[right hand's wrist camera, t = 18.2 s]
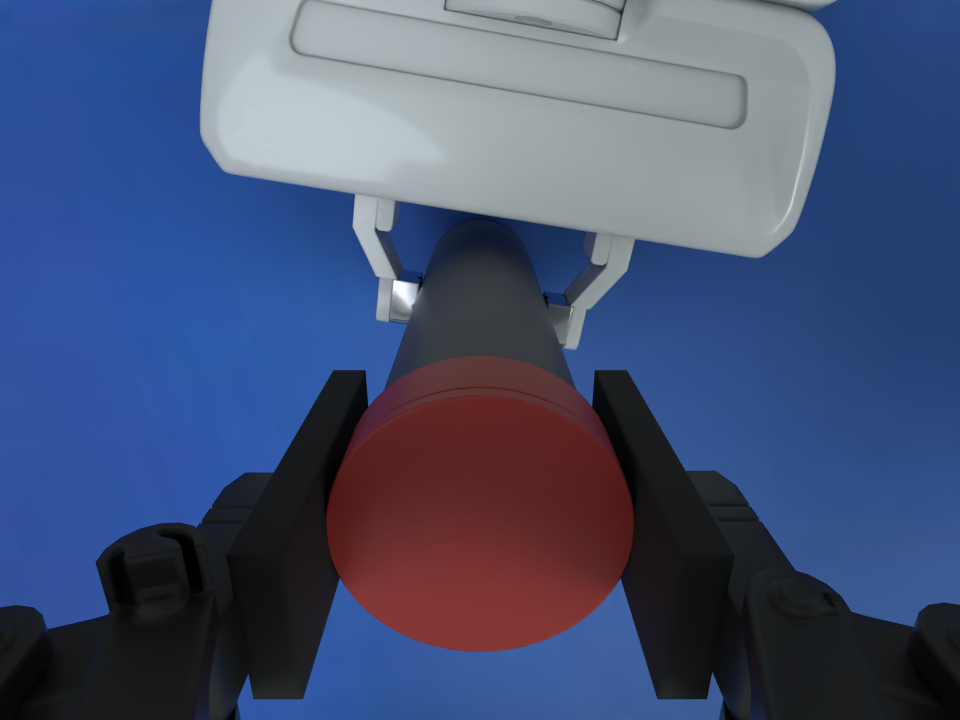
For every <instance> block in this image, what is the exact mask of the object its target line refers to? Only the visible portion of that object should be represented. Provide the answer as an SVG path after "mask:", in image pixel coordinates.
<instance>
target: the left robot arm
mask: <svg viewBox="0 0 960 720" xmlns="http://www.w3.org/2000/svg"><path fill="white" fill-rule="evenodd" d="M835 1H837V0H212V4H211V10H210V16H209V23H208V30H207V37H206V45H205V53H204V62H203V73H202V87H201V104H200V134H201V138H202V141H203V143H204V144H205V146H206V147H207V149H208V150H209V152H210V153H211V155H212V156H213V158H214V159H215V161H216V162H217V164H218V165H219V166H220V167H221V169H222V170H223V171H225V172H226V173H229V174H233V175H239V176H245V177H251V178H258V179H264V180H270V181H276V182H283V183H289V184H295V185H301V186H308V187H314V188H320V189H326V190H332V191H339V192H345V193H351V194H355V203H354V216H353V229H354V231H355V233H356V235H357V237H358V239H359V241H360V243H361V245H362V248H363V250H364V252H365V254H366V256H367V258H368V260H369V262H370V264H371V267H372V269H373V271H374V273H375V275H376V277H380V279H379V289H378V300H377V310H376V320H378V321H383V322H388V323H389V322H392V323H399V324H406V325H407V324H408V321H409V319H410V316H411V313H412V310H413V307H414V304H415V302H416V299H417V296H418V293H419V290H420V288H421V285H422V278H423V273H422V272H416V271H411V270H405V269H403V267H402V264H401V262H400V260H399V257H398V255H397V252H396V250H395V248H394V245H393V243H392V240H391V238H390V236H389V233H388V232H389V231H390V230H391V229H392V228H393V227H394V226H395V225H396V224H397V222H398V221H399V219H400V210H401V202H407V203H413V204H420V205H426V206H432V207H438V208H444V209H451V210H457V211H463V212H469V213H476V214H482V215H488V216H494V217H501V218H507V219H513V220H519V221H525V222H532V223H538V224H544V225H550V226H557V227H563V228H569V229H575V230H581V231H586V232H585V236H584V241H583V246H582V250H583V251H584V253H585V254H586V255H587V257H588V258H589V259H590V260H591V261H590V262H589V264H588V265H587V266H586V267H585V268H584V270H583V271H582V272H581V273H580V274H579V275H578V277H577V278H576V279H575V280H574V281H573V282H572V284H571V285H570V286H569V287H568V288H567V290H566V291H565V292H564V294H560V293H553V292H545V291H544V293H543V298H544V300H545V303H546V306H547V309H548V312H549V315H550V317H551V320H552V323H553V326H554V329H555V332H556V334H557V337H558V340H559V343H560V346H561V348H564V349H571V350H576V349H577V346H578V344H579V340H580V335H581V331H582V327H583V323H584V318H585V314H586V310H587V309H591V308H592V307H593V306H594V305H595V304H596V303H597V302H598V300H599V299H600V298H601V297H602V296H603V295H604V294H605V293H606V292H607V291H608V290H609V289H610V288H611V287H612V286H613V285H614V284H615V283H616V282H617V281H618V280H619V278H620V277H621V276H622V275H623V274H624V273H625V272H626V271H627V269H628V265H629V261H630V258H631V254H632V250H633V246H634V242H635V239H638V240H644V241H650V242H656V243H662V244H669V245H675V246H681V247H687V248H694V249H700V250H706V251H712V252H718V253H725V254H731V255H737V256H744V257H750V258H761V257H763V256H765V255H766V254H767V253H769V252H770V251H772V250H773V249H774V248H775V247H776V246H778V245H779V244H780V243H781V242H782V241H784V240H785V239H786V238H787V237H788V236H789V235H790V234H791V233H792V232H793V230H794V228H795V226H796V224H797V222H798V220H799V217H800V215H801V212H802V209H803V206H804V204H805V201H806V198H807V195H808V191H809V188H810V185H811V182H812V179H813V176H814V172H815V169H816V165H817V162H818V158H819V154H820V150H821V146H822V143H823V139H824V135H825V131H826V126H827V122H828V118H829V113H830V109H831V104H832V99H833V94H834V87H835V77H836V61H835V53H834V48H833V44H832V42H831V39H830V37H829V34H828V33H827V31H826V30H825V28H824V27H823V26H822V25H821V23H820V22H818V21H817V20H816V19H815V18H814V17H812V16H811V15H809V14H810V13H812V12H815V11H817V10H819V9H821V8H823V7H825V6H827V5H829V4H831V3H833V2H835Z"/></svg>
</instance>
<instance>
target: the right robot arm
mask: <svg viewBox="0 0 960 720" xmlns="http://www.w3.org/2000/svg"><path fill="white" fill-rule="evenodd" d="M367 408H368V398H367V385H366V371H365V370H333V372H332V374H331V376H330V377H329V379H328V381H327V382H326V384H325V386H324V388H323V389H322V391H321V393H320V394H319V396H318V398H317V400H316V401H315V403H314V405H313V406H312V408H311V410H310V412H309V413H308V415H307V417H306V419H305V420H304V422H303V424H302V425H301V427H300V429H299V431H298V432H297V434H296V436H295V437H294V439H293V441H292V443H291V444H290V446H289V448H288V449H287V451H286V453H285V455H284V456H283V458H282V460H281V462H280V463H279V465H278V467H277V468H276V470H275V472H274V473H244V474H243V475H241V476H240V477H239V478H237V479H236V480H234V481H233V482H232V483H230V484H229V485H227V486H226V487H225V488H224V489H223V490H222V492H221V493H220V495H219V496H218V498H217V499H216V500H215V502H214V503H213V505H212V509H209V511H208V512H207V513H206V515H205V516H204V518H203V519H202V524H199V525H198V526H197V528H196V527H194V526H192V525H187V524H183V523H161V524H157V525H153V526H149V527H145V528H141V529H139V530H136V531H134V532H132V533H130V534H128V535H125V536H123V537H121V538H120V539H118V540H117V541H116V542H114V543H113V544H112V545H110V546H109V547H107V548H106V549H105V550H104V551H103V553H102V554H101V555H100V557H99V558H98V559H97V561H96V566H97V569H98V572H99V576H100V579H101V583H102V586H103V590H104V593H105V596H106V600H107V603H108V607H109V610H110V612H109V614H108V615H105V616H101V617H98V618H95V619H91V620H86V621H82V622H77V623H73V624H69V625H64V626H60V627H56V628H51V629H47V627H46V624H45V621H44V618H43V615H42V614H41V613H39V612H38V611H37V610H36V609H34V608H33V607H27V606H19V605H14V606H8V607H1V608H0V720H241V719H240V713H239V708H238V703H237V700H238V697H239V695H240V692H241V690H242V688H243V685H244V683H245V680H246V678H247V676H248V673H249V678H250V684H251V689H252V694H253V699H303V697H304V694H305V690H306V687H307V684H308V680H309V677H310V674H311V671H312V667H313V664H314V661H315V658H316V654H317V651H318V648H319V644H320V641H321V638H322V635H323V631H324V628H325V625H326V621H327V618H328V615H329V612H330V608H331V605H332V602H333V599H334V595H335V592H336V589H337V585H338V582H339V579H340V577H339V575H338V573H337V571H336V569H335V566H334V564H333V562H332V559H331V556H330V552H329V546H328V538H327V529H326V507H327V502H328V498H329V493H330V490H331V487H332V485H333V482H334V480H335V477H336V475H337V472H338V470H339V467H340V465H341V463H342V460H343V458H344V455H345V453H346V450H347V448H348V445H349V443H350V440H351V438H352V435H353V433H354V430H355V428H356V426H357V424H358V422H359V421H360V419H361V417H362V415H363V414H364V412H365V411H366V410H367ZM592 408H593V409H594V411H595V412H596V413H597V415H598V416H599V418H600V420H601V422H602V424H603V425H604V427H605V429H606V431H607V434H608V436H609V439H610V441H611V444H612V446H613V449H614V451H615V454H616V456H617V459H618V461H619V464H620V466H621V469H622V471H623V474H624V476H625V479H626V481H627V484H628V487H629V490H630V492H631V496H632V501H633V506H634V511H635V523H634V533H633V542H632V550H631V553H630V557H629V560H628V563H627V565H626V567H625V569H624V572H623V574H622V576H621V581H622V584H623V587H624V591H625V594H626V597H627V601H628V604H629V607H630V610H631V614H632V617H633V620H634V624H635V627H636V630H637V633H638V637H639V640H640V643H641V646H642V650H643V653H644V656H645V660H646V663H647V666H648V669H649V673H650V676H651V679H652V683H653V686H654V689H655V692H656V696H657V699H707V696H708V691H709V686H710V680H711V675H712V672H713V674H714V677H715V679H716V681H717V684H718V686H719V689H720V691H721V693H722V696H723V703H722V708H721V712H720V717H719V720H960V605H956V604H950V603H939V604H932V605H928V606H926V607H925V608H924V609H923V610H921V611H920V612H919V614H918V617H917V620H916V622H915V625H914V627H911V626H907V625H902V624H898V623H894V622H889V621H885V620H881V619H876V618H872V617H867V616H864V615H861V614H857V613H854V612H851V610H850V609H849V607H848V606H847V604H846V603H845V601H844V600H843V598H842V597H841V596H840V595H839V594H838V593H837V592H836V591H834V590H833V589H832V588H831V587H830V586H828V585H827V584H826V583H824V582H822V581H820V580H818V579H816V578H814V577H812V576H810V575H808V574H805V573H801V572H798V571H795V569H794V568H793V566H792V565H791V563H790V562H789V560H788V559H787V558H786V556H785V555H784V553H783V552H782V550H781V549H780V548H779V546H778V545H777V543H776V542H775V540H774V539H773V538H772V536H771V535H770V533H769V532H768V530H767V529H766V528H765V526H764V525H763V523H762V522H759V517H758V516H757V515H756V513H755V512H754V510H753V509H752V507H749V503H748V502H747V500H746V499H745V497H744V496H743V495H742V493H741V492H740V490H739V489H738V487H737V486H736V485H735V484H733V483H732V482H730V481H729V480H727V479H726V478H725V477H723V476H722V475H720V474H719V473H718V472H716V471H685V469H684V468H683V466H682V464H681V463H680V461H679V459H678V457H677V456H676V454H675V452H674V451H673V449H672V447H671V445H670V444H669V442H668V440H667V438H666V437H665V435H664V433H663V432H662V430H661V428H660V426H659V425H658V423H657V421H656V420H655V418H654V416H653V414H652V413H651V411H650V409H649V408H648V406H647V404H646V402H645V401H644V399H643V397H642V396H641V394H640V392H639V390H638V389H637V387H636V385H635V383H634V382H633V380H632V378H631V377H630V375H629V373H628V371H627V370H595V376H594V390H593V403H592Z"/></svg>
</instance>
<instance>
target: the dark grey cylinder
mask: <svg viewBox="0 0 960 720" xmlns="http://www.w3.org/2000/svg"><path fill="white" fill-rule="evenodd" d="M466 356H495V357H502V358H510V359H514V360H518V361H522V362H525V363H529V364H531V365H534V366H536V367H539V368H541V369H544V370H546V371H548V372H550V373H552V374H553V375H555V376H557V377H559V378H560V379H562V380H563V381H565V382H566V383H567V384H569V385H570V386H571V387H573V388H574V389H575V390H576V388H575V385H574V383H573V380H572V377H571V374H570V371H569V368H568V366H567V363H566V360H565V357H564V354H563V351H562V349H561V346H560V343H559V340H558V337H557V334H556V332H555V329H554V326H553V323H552V320H551V317H550V315H549V312H548V309H547V306H546V303H545V300H544V298H543V295H542V292H541V289H540V286H539V283H538V281H537V278H536V275H535V272H534V269H533V266H532V264H531V261H530V258H529V255H528V252H527V250H526V248H525V246H524V244H523V242H522V241H521V240H520V238H519V237H518V236H517V235H516V234H515V233H514V232H513V231H511V230H510V229H509V228H507V227H505V226H504V225H501V224H499V223H496V222H493V221H488V220H473V221H468V222H464V223H462V224H459V225H457V226H455V227H454V228H452V229H451V230H449V231H448V232H447V233H446V234H445V235H444V236H443V237H442V238H441V239H440V240H439V242H438V243H437V245H436V247H435V249H434V251H433V254H432V257H431V259H430V262H429V265H428V268H427V271H426V273H425V276H424V279H423V282H422V285H421V288H420V290H419V293H418V296H417V299H416V302H415V304H414V307H413V310H412V313H411V316H410V319H409V321H408V324H407V327H406V330H405V333H404V335H403V338H402V341H401V344H400V347H399V350H398V352H397V355H396V358H395V361H394V364H393V366H392V369H391V372H390V375H389V378H388V381H387V383H386V386H385V389H386V388H387V387H389V386H390V385H392V384H393V383H394V382H396V381H397V380H399V379H400V378H401V377H403V376H405V375H407V374H409V373H411V372H413V371H415V370H416V369H418V368H421V367H424V366H427V365H429V364H432V363H435V362H438V361H443V360H447V359H451V358H457V357H466ZM385 389H384V390H385Z"/></svg>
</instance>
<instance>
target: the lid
mask: <svg viewBox="0 0 960 720" xmlns="http://www.w3.org/2000/svg"><path fill="white" fill-rule="evenodd" d="M634 523H635V511H634V506H633V501H632V496H631V492H630V490H629V487H628V484H627V481H626V479H625V476H624V474H623V471H622V469H621V466H620V464H619V461H618V459H617V456H616V454H615V451H614V449H613V446H612V444H611V441H610V439H609V436H608V434H607V431H606V429H605V427H604V425H603V424H602V422H601V420H600V418H599V416H598V415H597V413H596V412H595V411H594V409H593V408H592V407H591V405H590V404H589V403H588V401H587V400H586V399H584V398H583V397H582V396H581V395H580V394H579V393H578V392H577V391H576V390H575V389H574V388H573V387H571V386H570V385H569V384H567V383H566V382H565V381H563V380H562V379H560V378H559V377H557V376H555V375H553V374H552V373H550V372H548V371H546V370H544V369H541V368H539V367H536V366H534V365H531V364H529V363H525V362H522V361H518V360H514V359H510V358H502V357H495V356H466V357H457V358H451V359H447V360H443V361H438V362H435V363H432V364H429V365H427V366H424V367H421V368H418V369H416V370H415V371H413V372H411V373H409V374H407V375H405V376H403V377H401V378H400V379H399V380H397V381H396V382H394V383H393V384H392V385H390V386H389V387H387V388H386V389H385V390H384V391H383V392H382V393H381V394H380V395H379V396H378V397H377V398H376V399H375V400H374V401H373V402H372V403H371V405H370V406H369V407H368V408H367V410H366V411H365V412H364V414H363V415H362V417H361V419H360V421H359V422H358V424H357V426H356V428H355V430H354V433H353V435H352V438H351V440H350V443H349V445H348V448H347V450H346V453H345V455H344V458H343V460H342V463H341V465H340V467H339V470H338V472H337V475H336V477H335V480H334V482H333V485H332V487H331V490H330V493H329V498H328V502H327V507H326V529H327V538H328V546H329V552H330V556H331V559H332V562H333V564H334V566H335V569H336V571H337V573H338V575H339V577H340V578H341V580H342V582H343V583H344V585H345V587H346V588H347V590H348V591H349V592H350V593H351V595H352V596H353V597H354V598H355V599H356V601H357V602H358V603H359V604H360V605H361V606H362V607H363V608H365V609H366V610H367V611H368V612H369V613H370V614H371V615H372V616H374V617H375V618H376V619H378V620H379V621H381V622H382V623H383V624H385V625H387V626H388V627H390V628H392V629H393V630H395V631H397V632H399V633H401V634H403V635H405V636H407V637H410V638H412V639H414V640H417V641H420V642H423V643H426V644H429V645H432V646H437V647H442V648H446V649H451V650H460V651H475V652H489V651H500V650H509V649H514V648H519V647H524V646H528V645H531V644H534V643H538V642H541V641H543V640H546V639H548V638H551V637H553V636H556V635H558V634H560V633H562V632H563V631H565V630H567V629H569V628H571V627H573V626H574V625H576V624H577V623H578V622H580V621H581V620H583V619H584V618H586V617H587V616H588V615H589V614H590V613H592V612H593V611H594V610H595V609H596V608H597V607H598V606H599V605H600V604H601V603H602V602H603V601H604V600H605V599H606V597H607V596H608V595H609V594H610V593H611V592H612V590H613V589H614V587H615V586H616V584H617V582H618V581H619V579H620V578H621V576H622V574H623V572H624V569H625V567H626V565H627V563H628V560H629V557H630V553H631V550H632V542H633V533H634Z"/></svg>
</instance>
